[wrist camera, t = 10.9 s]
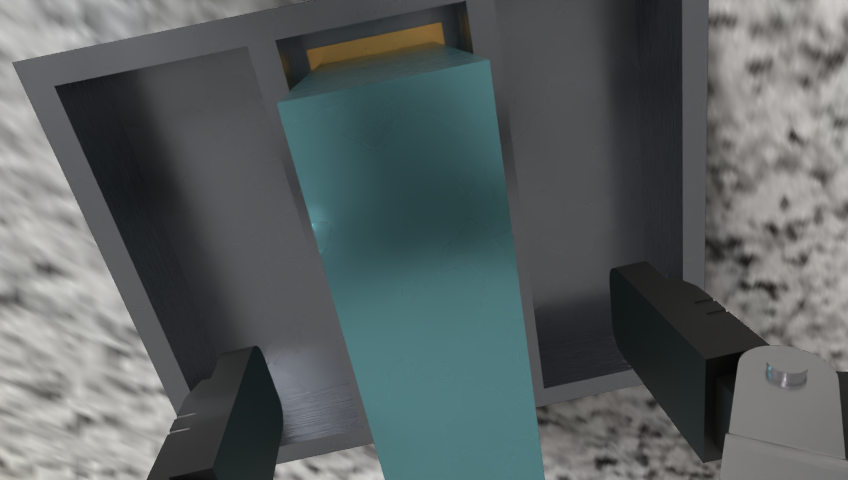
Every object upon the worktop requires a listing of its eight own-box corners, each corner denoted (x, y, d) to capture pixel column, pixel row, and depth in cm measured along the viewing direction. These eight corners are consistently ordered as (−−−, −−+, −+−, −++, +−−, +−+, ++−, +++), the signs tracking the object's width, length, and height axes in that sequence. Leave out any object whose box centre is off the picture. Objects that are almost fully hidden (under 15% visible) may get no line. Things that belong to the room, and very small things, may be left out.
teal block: (318, 65, 18) (276, 103, 10) (434, 41, 18) (489, 59, 10) (391, 357, 23) (405, 549, 15) (484, 337, 23) (550, 518, 15)
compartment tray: (83, 54, 19) (-2, 64, 14) (642, -63, 19) (722, -86, 15) (231, 412, 25) (203, 494, 20) (653, 320, 25) (712, 382, 21)
